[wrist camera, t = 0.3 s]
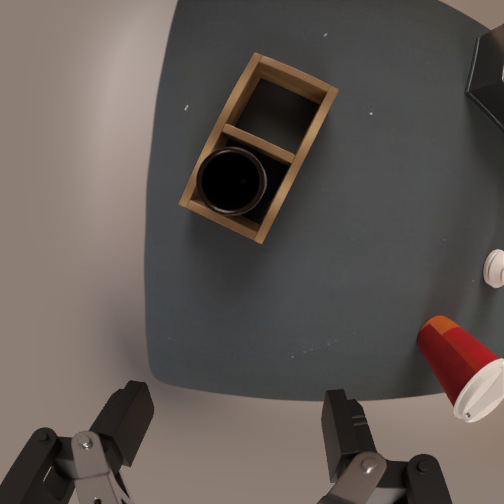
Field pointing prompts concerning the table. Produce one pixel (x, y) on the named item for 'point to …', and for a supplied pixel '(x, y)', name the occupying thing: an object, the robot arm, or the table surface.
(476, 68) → the dark grey open box
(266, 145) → the wooden divided box
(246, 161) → the grey hollow cylinder
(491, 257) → the chess pawn
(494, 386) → the paper cup
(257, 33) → the table surface
